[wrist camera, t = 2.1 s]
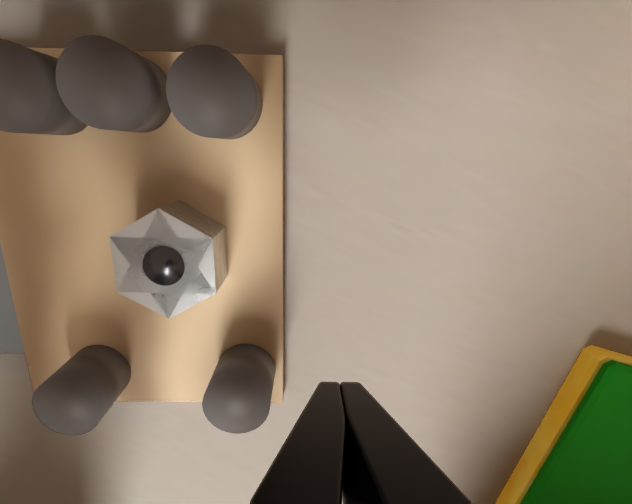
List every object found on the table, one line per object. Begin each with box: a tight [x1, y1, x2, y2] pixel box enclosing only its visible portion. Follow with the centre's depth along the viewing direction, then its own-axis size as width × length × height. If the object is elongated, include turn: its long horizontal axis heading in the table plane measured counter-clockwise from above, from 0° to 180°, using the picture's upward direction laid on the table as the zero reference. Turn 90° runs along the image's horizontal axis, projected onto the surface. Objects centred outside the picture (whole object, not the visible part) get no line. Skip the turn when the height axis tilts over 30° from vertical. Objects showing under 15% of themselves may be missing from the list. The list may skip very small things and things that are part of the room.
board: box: [0, 35, 284, 435], centre depth 17 cm, size 14×18×4 cm
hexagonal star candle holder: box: [109, 200, 228, 319], centre depth 17 cm, size 4×5×3 cm
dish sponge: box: [495, 345, 632, 504], centre depth 23 cm, size 7×14×2 cm, turn 163°
